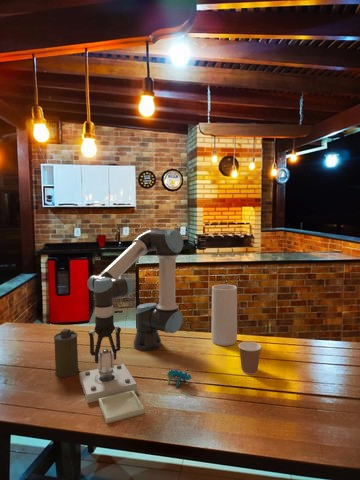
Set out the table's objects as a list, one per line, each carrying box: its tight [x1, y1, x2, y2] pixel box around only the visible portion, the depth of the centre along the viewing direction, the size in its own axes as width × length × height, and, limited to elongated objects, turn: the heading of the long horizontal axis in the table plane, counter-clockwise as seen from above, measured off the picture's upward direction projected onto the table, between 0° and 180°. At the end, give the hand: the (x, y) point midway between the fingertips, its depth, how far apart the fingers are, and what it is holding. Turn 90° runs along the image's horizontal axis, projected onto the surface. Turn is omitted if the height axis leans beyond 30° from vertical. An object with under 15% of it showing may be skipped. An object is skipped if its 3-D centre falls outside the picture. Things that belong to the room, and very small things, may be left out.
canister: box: [53, 328, 80, 378], centre depth 158 cm, size 11×10×20 cm
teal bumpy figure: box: [166, 369, 192, 388], centre depth 146 cm, size 11×6×10 cm
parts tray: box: [98, 391, 145, 425], centre depth 129 cm, size 14×14×2 cm
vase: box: [210, 283, 238, 347], centre depth 192 cm, size 14×14×32 cm
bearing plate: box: [79, 363, 138, 404], centre depth 146 cm, size 20×20×4 cm
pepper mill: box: [99, 348, 113, 382], centre depth 145 cm, size 6×6×14 cm
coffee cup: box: [238, 341, 262, 375], centre depth 158 cm, size 10×10×12 cm
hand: (105, 368), depth 145 cm, fingers closed on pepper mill, 5 cm apart
